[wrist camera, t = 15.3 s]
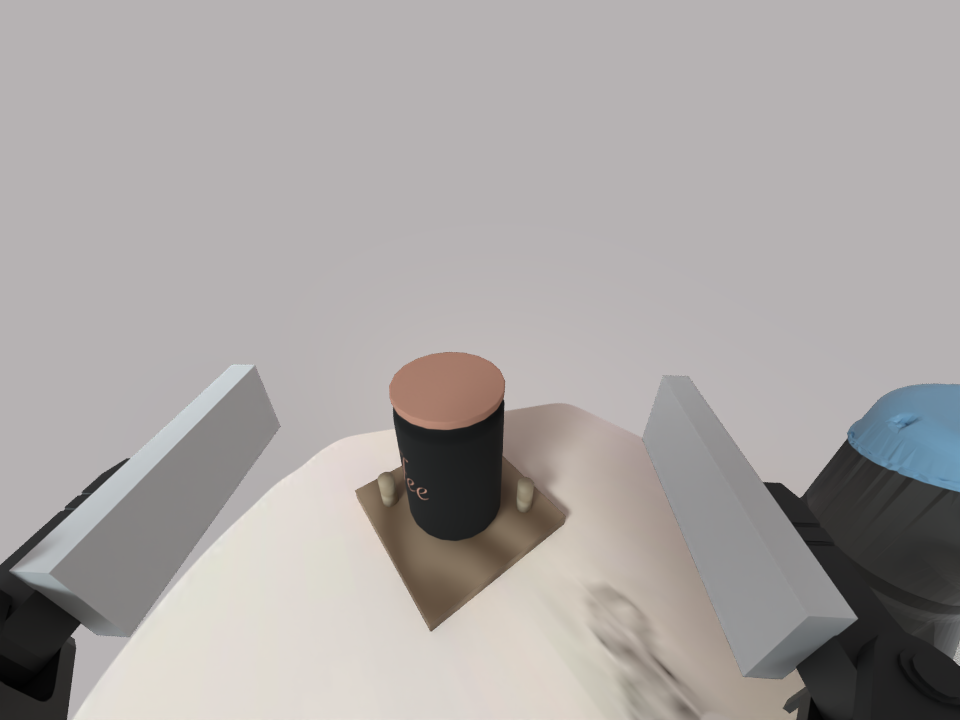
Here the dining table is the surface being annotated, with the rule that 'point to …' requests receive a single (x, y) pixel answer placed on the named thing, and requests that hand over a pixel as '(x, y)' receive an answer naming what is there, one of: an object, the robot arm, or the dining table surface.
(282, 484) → the dining table surface
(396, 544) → the pegged base plate
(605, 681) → the dining table surface
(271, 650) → the dining table surface
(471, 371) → the coffee jar
